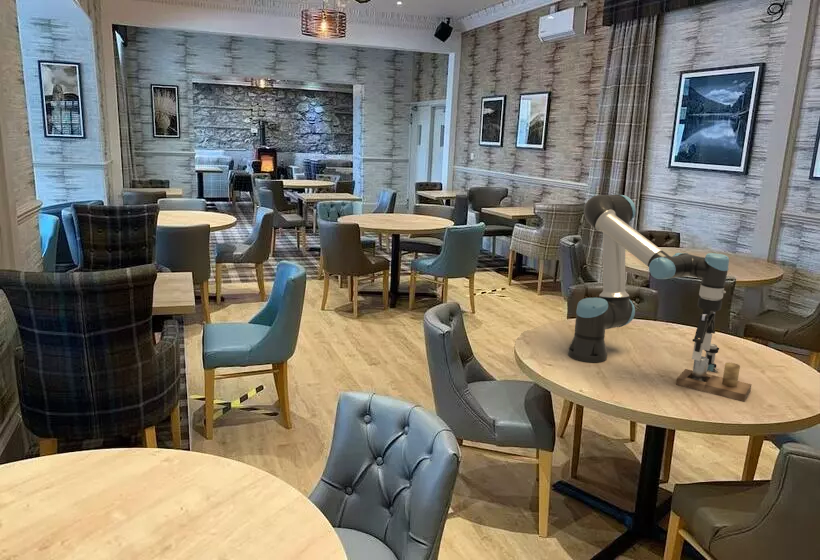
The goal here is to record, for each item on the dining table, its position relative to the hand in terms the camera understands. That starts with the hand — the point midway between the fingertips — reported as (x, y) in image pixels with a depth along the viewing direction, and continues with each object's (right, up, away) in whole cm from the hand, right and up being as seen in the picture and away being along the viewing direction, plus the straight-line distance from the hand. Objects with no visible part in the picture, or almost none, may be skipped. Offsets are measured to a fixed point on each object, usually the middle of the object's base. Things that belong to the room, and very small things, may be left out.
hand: (700, 354), depth 215 cm
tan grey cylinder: (0, -11, +2) cm, 11 cm away
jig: (+4, -12, -1) cm, 12 cm away
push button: (+12, -8, +17) cm, 22 cm away
